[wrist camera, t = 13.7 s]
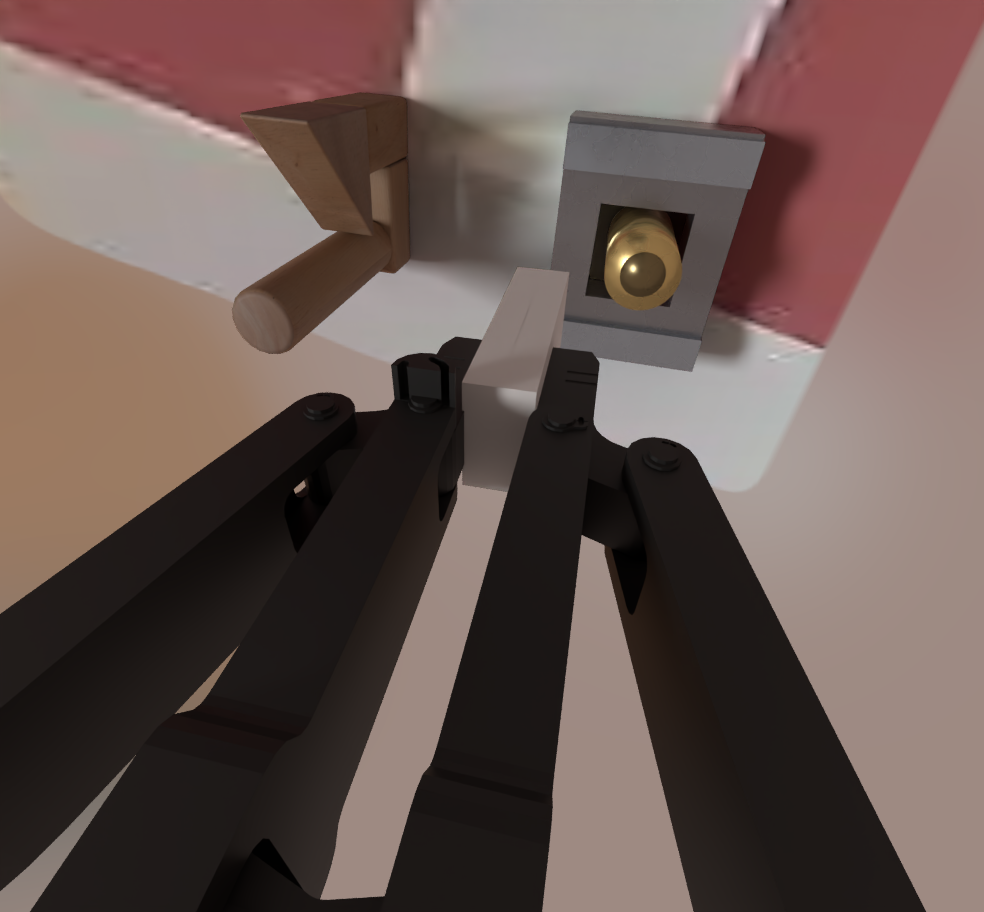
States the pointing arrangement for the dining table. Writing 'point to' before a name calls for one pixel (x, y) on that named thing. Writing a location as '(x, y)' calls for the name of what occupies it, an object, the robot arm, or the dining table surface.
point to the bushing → (641, 258)
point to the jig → (660, 186)
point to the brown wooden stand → (331, 209)
